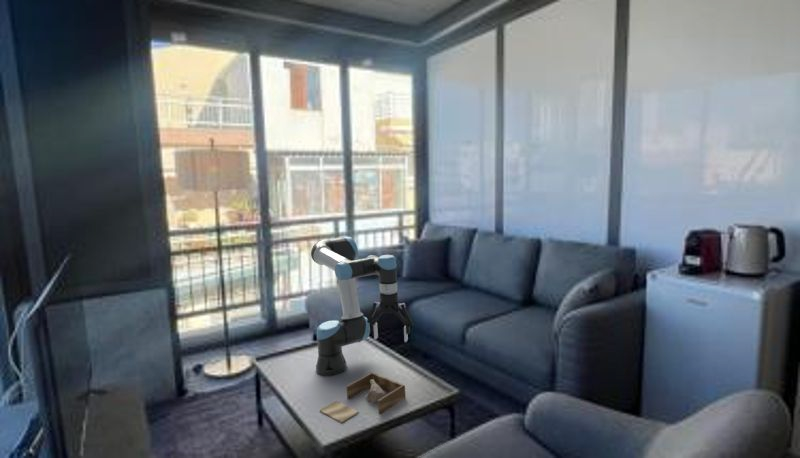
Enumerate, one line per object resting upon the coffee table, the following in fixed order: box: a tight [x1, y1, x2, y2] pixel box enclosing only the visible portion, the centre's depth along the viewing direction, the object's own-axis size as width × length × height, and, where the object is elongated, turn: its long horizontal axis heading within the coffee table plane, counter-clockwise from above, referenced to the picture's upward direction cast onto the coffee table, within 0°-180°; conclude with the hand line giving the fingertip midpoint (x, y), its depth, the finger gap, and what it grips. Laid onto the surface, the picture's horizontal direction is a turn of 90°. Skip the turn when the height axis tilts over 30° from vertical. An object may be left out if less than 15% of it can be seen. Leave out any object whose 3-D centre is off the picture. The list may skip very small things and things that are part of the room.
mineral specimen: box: [365, 379, 386, 404], centre depth 190 cm, size 13×7×6 cm, turn 27°
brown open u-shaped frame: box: [346, 371, 406, 415], centre depth 190 cm, size 20×16×6 cm
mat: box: [319, 400, 360, 424], centre depth 181 cm, size 14×9×1 cm, turn 49°
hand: (391, 339), depth 190 cm, fingers open, 13 cm apart
